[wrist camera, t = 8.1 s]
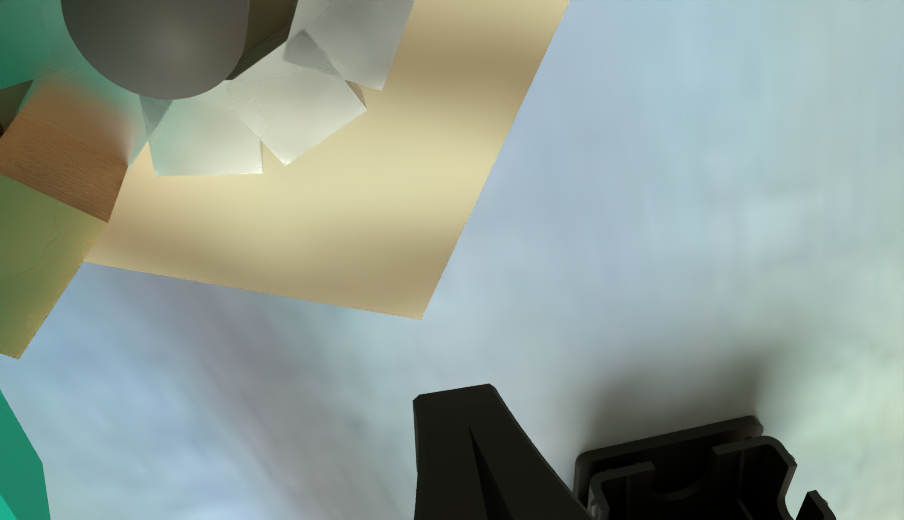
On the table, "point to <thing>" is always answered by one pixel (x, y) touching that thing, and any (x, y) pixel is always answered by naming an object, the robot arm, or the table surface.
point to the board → (316, 150)
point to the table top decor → (19, 472)
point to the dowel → (1, 130)
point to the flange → (158, 130)
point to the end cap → (694, 477)
